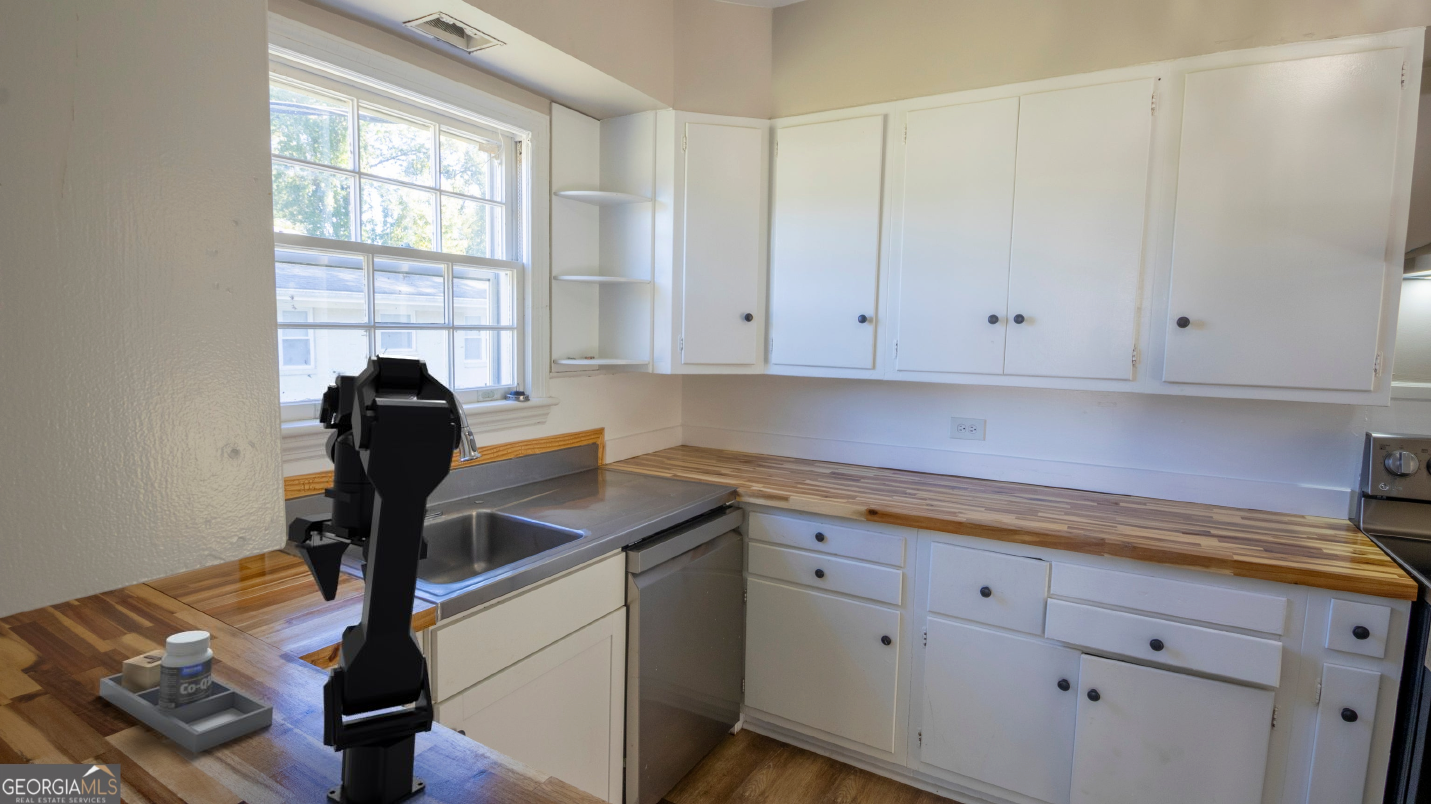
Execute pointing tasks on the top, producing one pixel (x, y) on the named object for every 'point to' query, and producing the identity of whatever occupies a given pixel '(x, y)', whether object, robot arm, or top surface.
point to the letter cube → (142, 672)
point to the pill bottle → (185, 670)
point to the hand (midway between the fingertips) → (353, 608)
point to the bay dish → (193, 713)
